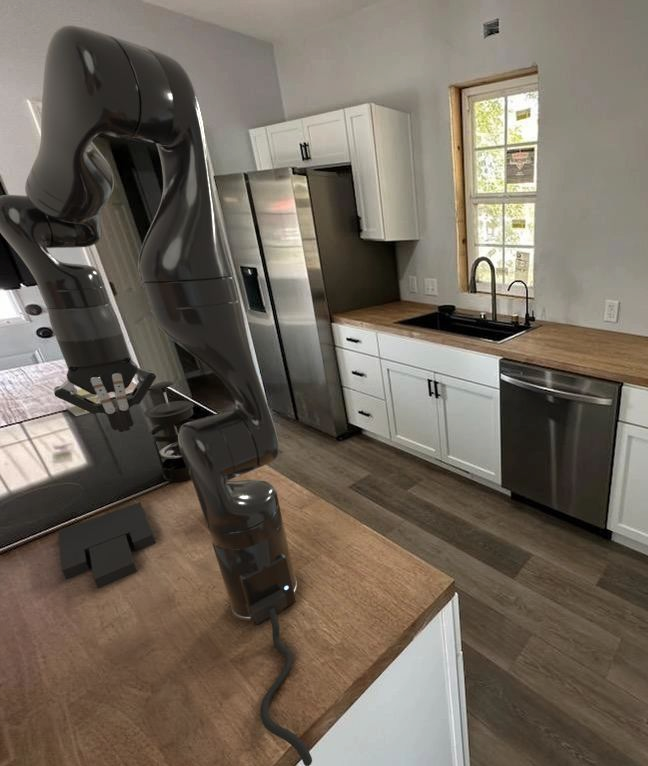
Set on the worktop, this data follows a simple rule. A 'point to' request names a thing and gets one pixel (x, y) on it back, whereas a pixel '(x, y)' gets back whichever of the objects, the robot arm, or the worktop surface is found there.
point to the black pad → (112, 561)
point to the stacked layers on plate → (83, 393)
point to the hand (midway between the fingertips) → (124, 429)
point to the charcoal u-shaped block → (102, 536)
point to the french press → (170, 433)
